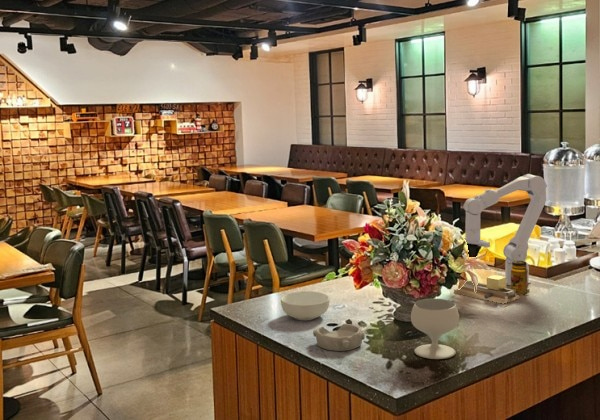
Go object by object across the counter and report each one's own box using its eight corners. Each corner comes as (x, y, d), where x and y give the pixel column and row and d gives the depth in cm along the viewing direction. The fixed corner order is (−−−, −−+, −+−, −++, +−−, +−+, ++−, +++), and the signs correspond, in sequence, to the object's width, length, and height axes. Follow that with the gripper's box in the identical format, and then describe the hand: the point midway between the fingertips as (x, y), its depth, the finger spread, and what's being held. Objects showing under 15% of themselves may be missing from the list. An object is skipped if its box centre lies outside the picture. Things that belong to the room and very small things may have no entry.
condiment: (508, 294, 268) (509, 263, 266) (510, 288, 276) (510, 258, 274) (528, 295, 266) (529, 264, 264) (529, 289, 274) (530, 259, 272)
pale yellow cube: (494, 288, 267) (494, 275, 266) (505, 291, 263) (506, 277, 262) (486, 291, 264) (486, 277, 263) (498, 293, 260) (498, 279, 259)
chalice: (401, 349, 213) (401, 301, 210) (440, 341, 219) (440, 294, 216) (429, 364, 200) (429, 313, 198) (468, 356, 206) (469, 306, 204)
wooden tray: (471, 287, 279) (471, 278, 279) (520, 298, 263) (520, 288, 262) (452, 293, 272) (452, 284, 271) (502, 304, 255) (502, 295, 255)
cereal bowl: (274, 322, 243) (273, 302, 242) (291, 308, 258) (290, 289, 257) (321, 326, 237) (320, 306, 236) (335, 312, 253) (335, 292, 251)
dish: (308, 344, 221) (307, 328, 220) (342, 334, 229) (342, 319, 228) (336, 357, 209) (336, 340, 208) (372, 346, 217) (372, 330, 216)
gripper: (451, 228, 281) (451, 261, 283) (482, 232, 270) (482, 267, 272) (462, 225, 285) (462, 258, 287) (493, 230, 274) (492, 264, 276)
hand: (472, 262), depth 280 cm, fingers closed
